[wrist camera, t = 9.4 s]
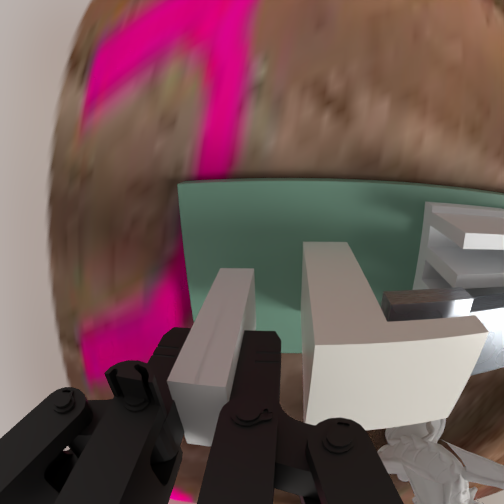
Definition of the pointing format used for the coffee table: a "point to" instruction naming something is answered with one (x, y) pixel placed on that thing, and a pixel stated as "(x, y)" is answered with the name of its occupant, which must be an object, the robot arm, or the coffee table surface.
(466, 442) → the coffee table surface
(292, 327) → the board
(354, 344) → the bracket
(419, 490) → the figurine
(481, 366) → the strap
